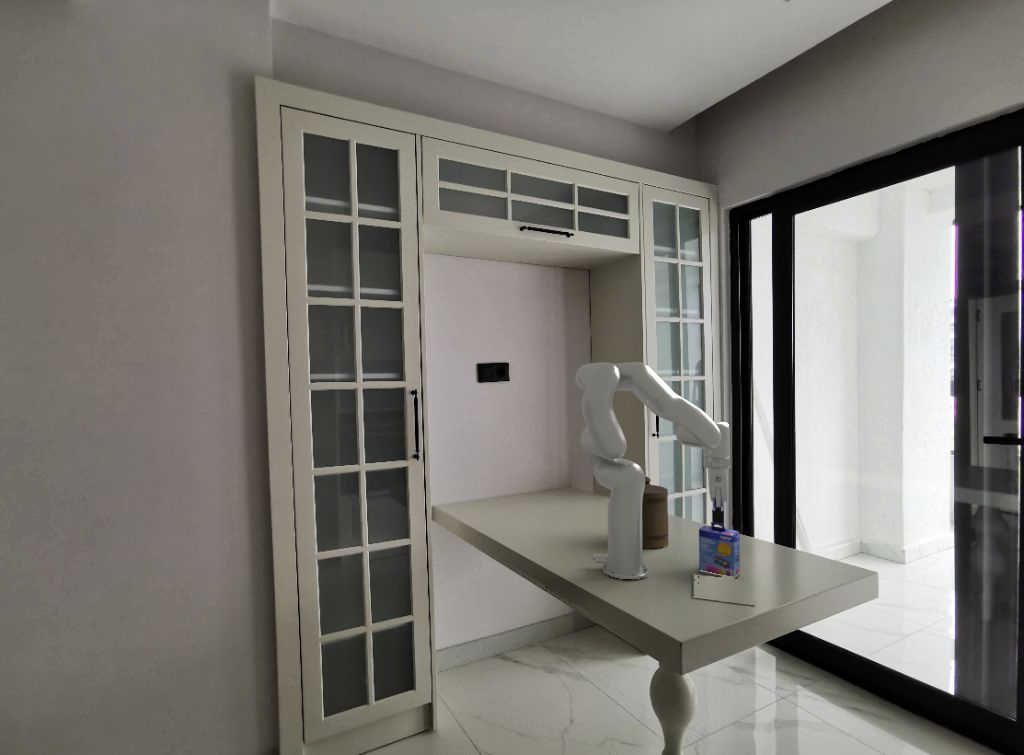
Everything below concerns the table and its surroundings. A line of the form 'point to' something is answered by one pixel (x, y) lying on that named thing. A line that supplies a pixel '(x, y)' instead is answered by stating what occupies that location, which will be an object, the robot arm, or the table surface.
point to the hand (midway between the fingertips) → (718, 523)
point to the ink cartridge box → (719, 550)
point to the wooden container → (654, 516)
